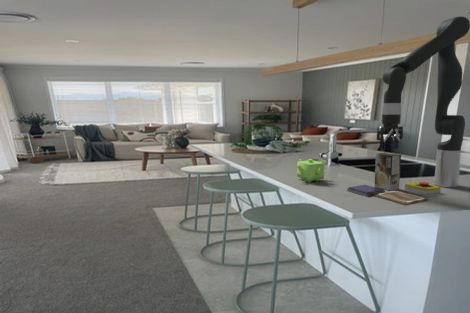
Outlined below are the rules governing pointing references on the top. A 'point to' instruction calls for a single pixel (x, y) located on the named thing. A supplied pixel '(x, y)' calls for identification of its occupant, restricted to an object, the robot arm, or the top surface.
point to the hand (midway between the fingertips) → (389, 149)
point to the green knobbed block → (310, 170)
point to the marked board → (401, 197)
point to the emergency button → (423, 188)
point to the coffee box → (387, 171)
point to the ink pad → (365, 190)
